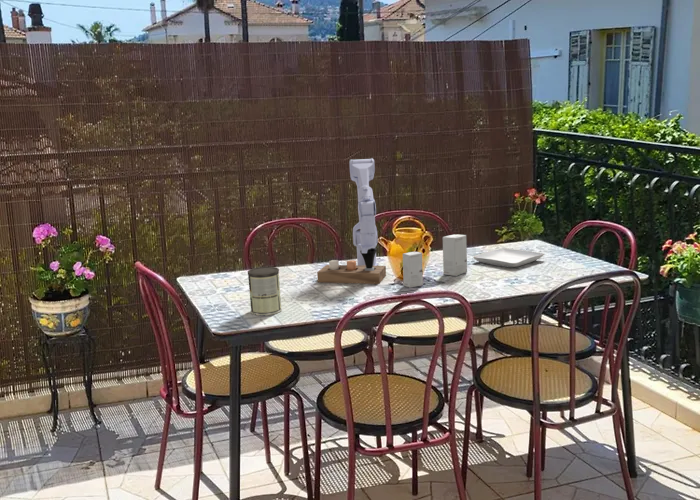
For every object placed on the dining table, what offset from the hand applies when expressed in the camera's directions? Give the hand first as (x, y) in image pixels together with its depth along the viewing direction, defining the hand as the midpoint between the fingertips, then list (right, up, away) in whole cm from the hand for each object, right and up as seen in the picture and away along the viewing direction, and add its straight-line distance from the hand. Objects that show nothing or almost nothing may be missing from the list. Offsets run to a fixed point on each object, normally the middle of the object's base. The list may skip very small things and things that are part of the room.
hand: (369, 267), depth 274 cm
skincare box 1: (+16, -6, -10) cm, 20 cm away
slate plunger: (0, -4, +1) cm, 4 cm away
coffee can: (-35, -14, -34) cm, 51 cm away
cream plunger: (-13, -2, +4) cm, 14 cm away
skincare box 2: (+33, -2, +4) cm, 34 cm away
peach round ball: (-7, -2, +2) cm, 7 cm away
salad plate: (+57, +2, +19) cm, 60 cm away
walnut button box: (-7, -4, +3) cm, 8 cm away
